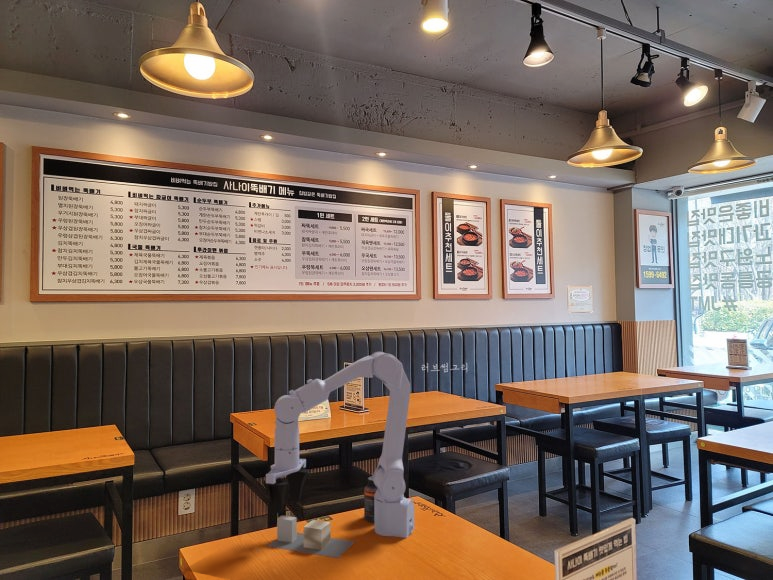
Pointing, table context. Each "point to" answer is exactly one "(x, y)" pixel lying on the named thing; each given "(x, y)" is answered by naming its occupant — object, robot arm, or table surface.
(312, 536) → the birch block
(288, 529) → the gray plate with post
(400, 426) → the robot arm
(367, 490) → the supplement bottle
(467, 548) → the table surface
